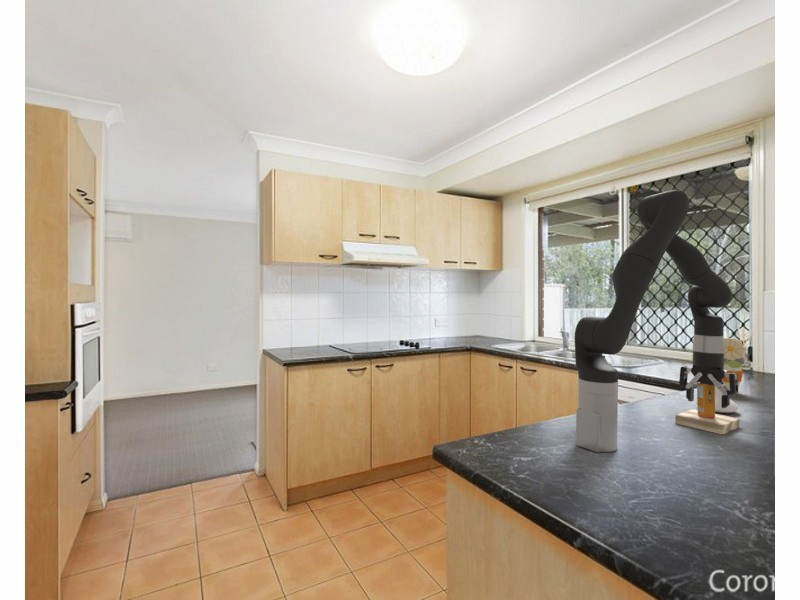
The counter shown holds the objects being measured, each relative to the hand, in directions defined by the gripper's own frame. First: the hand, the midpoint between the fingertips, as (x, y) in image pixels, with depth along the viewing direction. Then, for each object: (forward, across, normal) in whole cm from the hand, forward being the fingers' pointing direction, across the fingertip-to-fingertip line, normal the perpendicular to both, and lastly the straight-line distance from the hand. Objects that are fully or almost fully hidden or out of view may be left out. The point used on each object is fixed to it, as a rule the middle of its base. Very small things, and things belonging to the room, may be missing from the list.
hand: (707, 404), depth 123 cm
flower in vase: (+6, -4, +21) cm, 22 cm away
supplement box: (+4, 0, 0) cm, 4 cm away
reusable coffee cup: (+6, -14, +54) cm, 57 cm away
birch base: (+6, 0, 0) cm, 6 cm away
